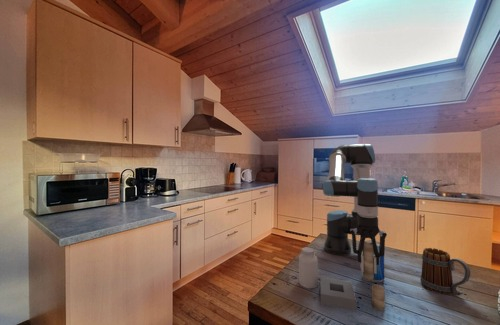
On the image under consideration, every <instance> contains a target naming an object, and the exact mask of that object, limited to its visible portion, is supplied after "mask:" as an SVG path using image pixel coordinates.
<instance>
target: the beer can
mask: <svg viewBox="0 0 500 325" xmlns="http://www.w3.org/2000/svg"><path fill="white" fill-rule="evenodd" d="M367 241H369V242H372V241H371V239H370V240H367ZM376 245H377V249H378V252H379V248H380V241H376ZM374 255H375V254H374ZM384 280H385V256H384V257H382V256H381V257H380V258H379V265H376V274H375V273H374V280H373V281H371V282H372V283H382V282H383V281H384Z"/></svg>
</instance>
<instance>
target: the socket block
mask: <svg viewBox="0 0 500 325" xmlns="http://www.w3.org/2000/svg"><path fill="white" fill-rule="evenodd" d="M319 279H320V305H321V306H326V307H332V308H337V309H343V310H346V311H352V312H353V311H354V312H357V297H356V295H355V290H354V287H353V283H352V281H348V280H342V279H335V278H327V277H321V276H320V278H319Z"/></svg>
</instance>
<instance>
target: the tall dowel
mask: <svg viewBox="0 0 500 325" xmlns="http://www.w3.org/2000/svg"><path fill="white" fill-rule="evenodd" d="M362 254H363V257H364V272H362V278H363V280H365V281H368V282H372V281H373V280H374V248H373V243H372V242H369V241H368V240H365V241H364V246H363V250H362Z"/></svg>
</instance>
